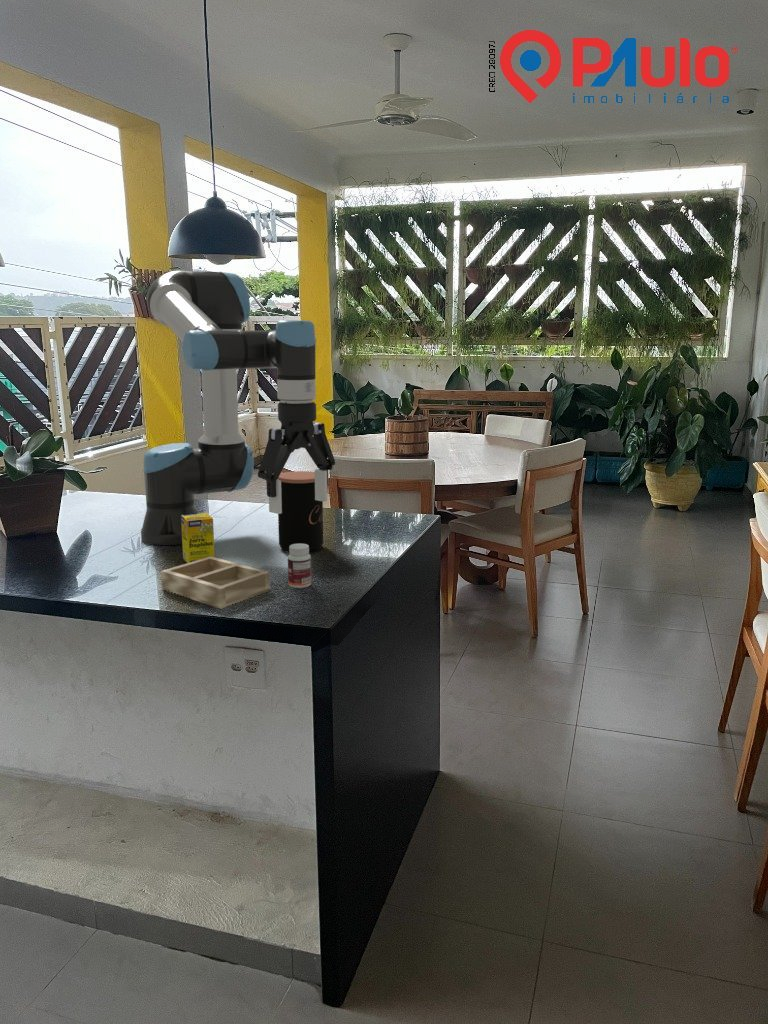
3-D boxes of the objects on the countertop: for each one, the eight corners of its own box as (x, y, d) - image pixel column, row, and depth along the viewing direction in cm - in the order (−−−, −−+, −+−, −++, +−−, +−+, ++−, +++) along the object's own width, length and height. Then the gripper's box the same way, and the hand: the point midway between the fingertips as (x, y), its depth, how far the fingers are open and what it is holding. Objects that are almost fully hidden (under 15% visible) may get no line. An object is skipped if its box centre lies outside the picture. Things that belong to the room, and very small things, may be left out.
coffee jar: (316, 555, 178) (315, 480, 174) (272, 552, 180) (270, 478, 176) (328, 543, 188) (327, 472, 184) (287, 541, 191) (285, 470, 186)
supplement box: (189, 568, 168) (186, 520, 166) (182, 561, 173) (180, 514, 171) (215, 565, 171) (213, 517, 168) (208, 558, 176) (206, 512, 174)
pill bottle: (288, 581, 160) (287, 542, 158) (311, 580, 161) (310, 542, 159) (287, 588, 156) (286, 549, 154) (311, 588, 156) (310, 549, 154)
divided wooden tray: (162, 589, 155) (161, 571, 154) (211, 573, 165) (210, 556, 164) (221, 608, 144) (220, 588, 144) (269, 590, 155) (269, 572, 154)
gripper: (265, 407, 138) (268, 521, 143) (351, 397, 157) (352, 498, 162) (236, 404, 142) (240, 515, 147) (324, 395, 161) (325, 493, 166)
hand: (299, 506), depth 155 cm, fingers open, 13 cm apart
